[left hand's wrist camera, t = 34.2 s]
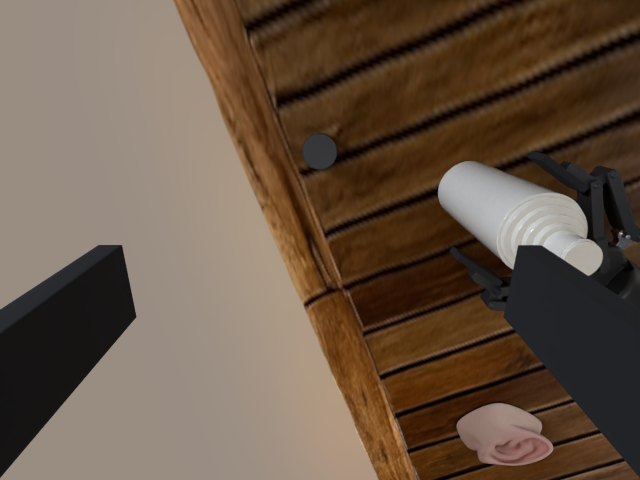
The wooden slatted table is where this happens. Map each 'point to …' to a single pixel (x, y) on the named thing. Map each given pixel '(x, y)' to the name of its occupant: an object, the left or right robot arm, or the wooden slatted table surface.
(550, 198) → the bottle
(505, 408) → the anatomical model
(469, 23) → the wooden slatted table surface
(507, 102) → the wooden slatted table surface
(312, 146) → the cap
